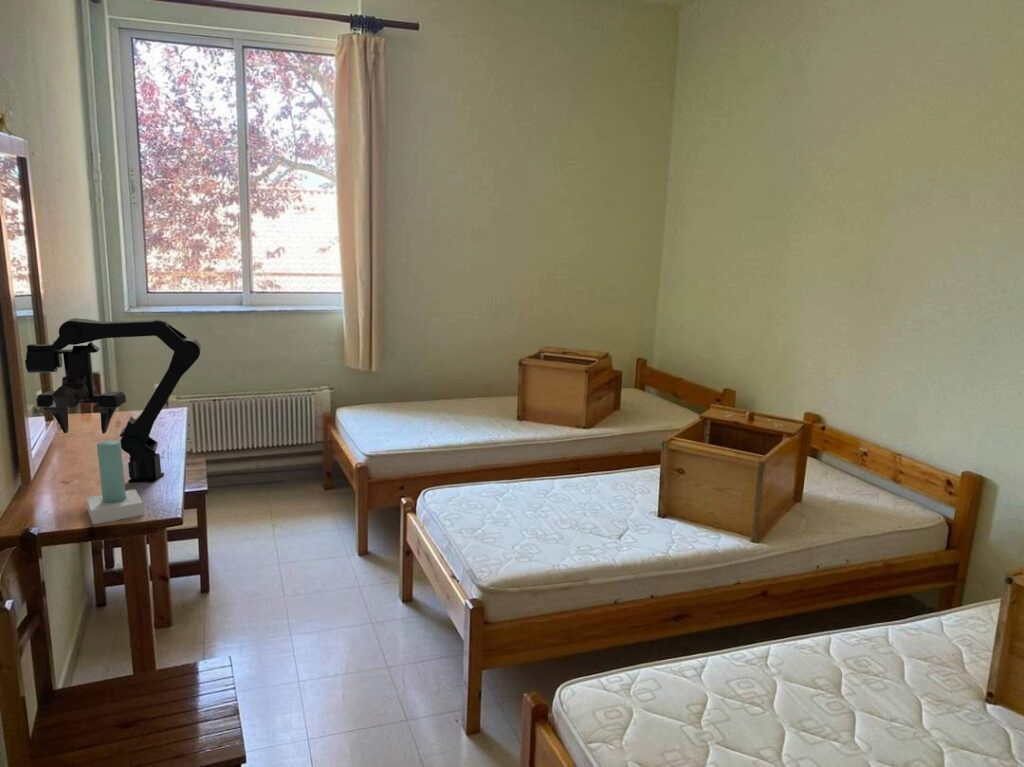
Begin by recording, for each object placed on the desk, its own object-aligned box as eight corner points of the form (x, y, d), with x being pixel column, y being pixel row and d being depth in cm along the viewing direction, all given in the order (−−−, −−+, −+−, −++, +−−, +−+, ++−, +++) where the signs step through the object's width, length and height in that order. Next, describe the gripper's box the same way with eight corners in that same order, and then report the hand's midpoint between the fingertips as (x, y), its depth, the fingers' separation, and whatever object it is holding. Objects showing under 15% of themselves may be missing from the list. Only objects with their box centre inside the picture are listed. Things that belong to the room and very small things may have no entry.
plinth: (136, 501, 171) (135, 488, 171) (144, 514, 163) (142, 501, 163) (87, 510, 166) (86, 497, 165) (92, 524, 158) (91, 510, 157)
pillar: (119, 493, 167) (113, 439, 164) (130, 498, 164) (124, 443, 162) (98, 499, 163) (92, 444, 160) (109, 504, 161) (103, 448, 158)
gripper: (18, 377, 169) (26, 442, 172) (101, 377, 170) (107, 442, 173) (46, 368, 180) (53, 429, 183) (124, 369, 180) (129, 430, 184)
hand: (85, 433), depth 180 cm, fingers open, 9 cm apart
